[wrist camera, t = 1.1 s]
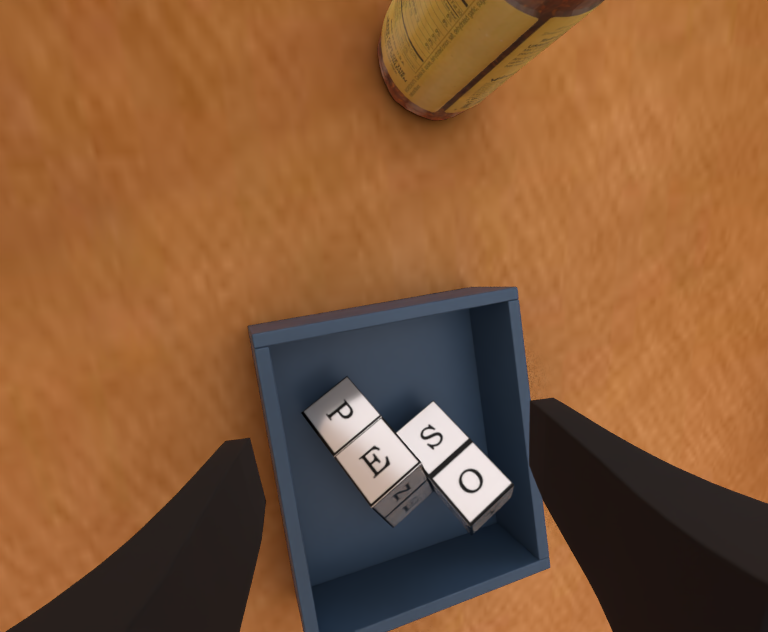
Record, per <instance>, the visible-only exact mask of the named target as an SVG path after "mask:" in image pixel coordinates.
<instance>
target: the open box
mask: <svg viewBox="0 0 768 632" xmlns="http://www.w3.org/2000/svg"><path fill="white" fill-rule="evenodd" d="M248 332H249V337H250V343H251V348H252V354H253V359H254V365H255V370H256V376H257V382H258V387H259V393H260V398H261V404H262V409H263V415H264V420H265V426H266V431H267V437H268V443H269V448H270V454H271V459H272V465H273V470H274V476H275V481H276V487H277V492H278V498H279V503H280V509H281V515H282V520H283V526H284V531H285V537H286V542H287V548H288V553H289V559H290V564H291V570H292V575H293V581H294V587H295V592H296V598H297V602H298V607H299V612H300V617H301V621H302V626H303V631H304V632H387V631H390V630H392V629H395V628H398V627H400V626H403V625H405V624H408V623H410V622H413V621H415V620H418V619H420V618H423V617H426V616H428V615H431V614H433V613H436V612H438V611H441V610H443V609H446V608H449V607H451V606H454V605H456V604H459V603H461V602H464V601H466V600H469V599H472V598H474V597H477V596H479V595H482V594H484V593H487V592H489V591H492V590H495V589H497V588H500V587H502V586H505V585H507V584H510V583H512V582H515V581H517V580H520V579H523V578H525V577H528V576H530V575H533V574H535V573H538V572H540V571H543V570H546V569H548V568H550V560H549V551H548V543H547V534H546V526H545V517H544V509H543V500H542V496H541V494H540V492H539V489H538V487H537V484H536V482H535V479H534V477H533V474H532V472H531V469H530V467H529V421H530V401H531V399H530V390H529V382H528V374H527V365H526V357H525V348H524V340H523V331H522V323H521V314H520V306H519V300H518V290H517V287H469V288H463V289H457V290H452V291H446V292H440V293H434V294H429V295H423V296H417V297H411V298H405V299H400V300H394V301H388V302H382V303H377V304H371V305H365V306H359V307H354V308H348V309H342V310H336V311H331V312H325V313H319V314H313V315H307V316H302V317H296V318H290V319H284V320H279V321H273V322H267V323H261V324H256V325H250V326H248ZM346 376H348V377H349V379H350V380H351V381H352V382H353V383H354V384H355V386H356V387H357V388H358V389H359V390H360V391H361V393H362V394H363V395H364V396H365V397H366V398H367V400H368V401H369V402H370V403H371V404H372V405H373V406H374V408H375V409H376V410H377V411H378V412H379V413H380V415H381V416H382V417H383V418H384V419H385V420H386V422H387V423H388V424H389V425H390V426H391V427H392V429H393V430H394V431H395V432H397V431H398V430H399V429H400V428H402V427H403V426H404V425H405V424H406V423H407V422H409V421H410V420H411V419H412V418H413V417H414V416H416V415H417V414H418V413H419V412H420V411H421V410H423V409H424V408H425V407H426V406H427V405H428V404H430V403H431V402H432V401H434V402H435V403H436V404H437V405H438V406H439V407H440V408H441V409H442V410H443V411H444V412H445V413H446V414H447V415H448V416H449V417H450V418H451V419H452V420H453V421H454V422H455V423H456V424H457V425H458V427H459V428H460V429H461V430H462V431H463V432H464V433H465V434H466V435H467V436H468V437H469V438H470V439H471V440H472V441H473V442H474V443H475V444H476V445H477V446H478V447H479V448H480V449H481V450H482V451H483V453H484V454H485V455H486V456H487V457H488V458H489V459H490V460H491V461H492V462H493V463H494V464H495V465H496V466H497V467H498V468H499V469H500V470H501V471H502V472H503V473H504V474H505V475H506V476H507V477H508V479H509V480H510V481H511V482H512V483H513V484H514V489H513V494H512V497H511V498H510V499H509V500H508V501H507V502H506V503H505V504H504V505H503V506H502V507H501V508H500V509H499V510H498V511H497V512H496V513H495V514H494V515H493V516H492V517H491V518H490V519H489V520H487V521H486V522H485V523H484V524H483V525H482V526H481V527H480V528H479V529H478V530H477V531H476V532H475V533H474V534H473V535H472V536H471V535H470V533H469V532H468V531H467V530H466V529H465V527H464V526H463V525H462V524H461V523H460V522H459V520H458V519H457V518H456V517H455V516H454V514H453V513H452V512H451V511H450V510H449V508H448V507H447V506H446V505H445V504H444V503H443V501H442V500H441V499H440V498H439V497H438V495H437V494H436V493H435V492H432V493H431V494H430V495H429V496H428V497H427V498H426V499H425V500H424V501H423V502H422V503H420V504H419V505H418V506H417V507H416V508H415V509H414V510H413V511H412V512H411V513H409V514H408V515H407V516H406V517H405V518H404V519H403V520H402V521H401V522H400V523H398V524H397V525H396V526H395V527H394V528H392V527H391V526H390V525H389V524H388V523H387V522H386V521H385V520H384V519H383V518H382V517H381V516H379V515H378V514H377V513H376V512H375V511H374V510H373V509H372V508H371V507H370V505H369V504H368V503H367V501H366V500H365V499H364V497H363V496H362V495H361V493H360V492H359V491H358V489H357V488H356V487H355V485H354V484H353V483H352V481H351V480H350V478H349V477H348V476H347V474H346V473H345V472H344V470H343V469H342V468H341V466H340V465H339V464H338V462H337V461H336V460H335V458H334V457H333V456H332V454H331V453H330V451H329V450H328V449H327V447H326V446H325V445H324V443H323V442H322V441H321V439H320V438H319V437H318V435H317V434H316V433H315V431H314V430H313V429H312V427H311V426H310V424H309V423H308V422H307V420H306V419H305V418H304V416H303V415H302V414H301V412H302V411H304V410H305V409H306V408H307V407H309V406H310V405H311V404H312V403H314V402H315V401H316V400H317V399H319V398H320V397H321V396H322V395H324V394H325V393H326V392H327V391H329V390H330V389H331V388H332V387H334V386H335V385H336V384H337V383H339V382H340V381H341V380H342V379H344V378H345V377H346Z"/></svg>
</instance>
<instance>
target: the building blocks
mask: <svg viewBox="0 0 768 632" xmlns="http://www.w3.org/2000/svg"><path fill="white" fill-rule="evenodd" d="M301 414H302V415H303V416H304V418H305V419H306V420H307V422H308V423H309V424H310V426H311V427H312V429H313V430H314V431H315V433H316V434H317V435H318V437H319V438H320V439H321V441H322V442H323V443H324V445H325V446H326V447H327V449H328V450H329V451H330V453H331V454H332V456H333V457H334V458H335V460H336V461H337V462H338V464H339V465H340V466H341V468H342V469H343V470H344V472H345V473H346V474H347V476H348V477H349V478H350V480H351V481H352V483H353V484H354V485H355V487H356V488H357V489H358V491H359V492H360V493H361V495H362V496H363V497H364V499H365V500H366V501H367V503H368V504H369V505H370V507H371V508H372V509H373V510H374V511H375V512H376V513H377V514H378V515H379V516H381V517H382V518H383V519H384V520H385V521H386V522H387V523H388V524H389V525H390V526H391V527H392V528H394V527H395V526H396V525H397V524H398V523H400V522H401V521H402V520H403V519H404V518H405V517H406V516H407V515H408V514H409V513H411V512H412V511H413V510H414V509H415V508H416V507H417V506H418V505H419V504H420V503H422V502H423V501H424V500H425V499H426V498H427V497H428V496H429V495H430V494H431V493H432V492H435V493H436V494H437V495H438V497H439V498H440V499H441V500H442V501H443V503H444V504H445V505H446V506H447V507H448V508H449V510H450V511H451V512H452V513H453V514H454V516H455V517H456V518H457V519H458V520H459V522H460V523H461V524H462V525H463V526H464V527H465V529H466V530H467V531H468V532H469V533H470V535H471V536H472V535H473V534H474V533H475V532H476V531H477V530H478V529H479V528H480V527H481V526H482V525H483V524H484V523H485V522H486V521H487V520H489V519H490V518H491V517H492V516H493V515H494V514H495V513H496V512H497V511H498V510H499V509H500V508H501V507H502V506H503V505H504V504H505V503H506V502H507V501H508V500H509V499H510V498H511V497H512V494H513V489H514V484H513V483H512V482H511V481H510V480H509V479H508V477H507V476H506V475H505V474H504V473H503V472H502V471H501V470H500V469H499V468H498V467H497V466H496V465H495V464H494V463H493V462H492V461H491V460H490V459H489V458H488V457H487V456H486V455H485V454H484V453H483V451H482V450H481V449H480V448H479V447H478V446H477V445H476V444H475V443H474V442H473V441H472V440H471V439H470V438H469V437H468V436H467V435H466V434H465V433H464V432H463V431H462V430H461V429H460V428H459V427H458V425H457V424H456V423H455V422H454V421H453V420H452V419H451V418H450V417H449V416H448V415H447V414H446V413H445V412H444V411H443V410H442V409H441V408H440V407H439V406H438V405H437V404H436V403H435V402H434V401H432V402H431V403H430V404H428V405H427V406H426V407H425V408H424V409H423V410H421V411H420V412H419V413H418V414H417V415H416V416H414V417H413V418H412V419H411V420H410V421H409V422H407V423H406V424H405V425H404V426H403V427H402V428H400V429H399V430H398V431H397V432H395V431H394V430H393V429H392V427H391V426H390V425H389V424H388V423H387V422H386V420H385V419H384V418H383V417H382V416H381V415H380V413H379V412H378V411H377V410H376V409H375V408H374V406H373V405H372V404H371V403H370V402H369V401H368V400H367V398H366V397H365V396H364V395H363V394H362V393H361V391H360V390H359V389H358V388H357V387H356V386H355V384H354V383H353V382H352V381H351V380H350V379H349V377H348V376H346V377H345V378H344V379H342V380H341V381H340V382H339V383H337V384H336V385H335V386H334V387H332V388H331V389H330V390H329V391H327V392H326V393H325V394H324V395H322V396H321V397H320V398H319V399H317V400H316V401H315V402H314V403H312V404H311V405H310V406H309V407H307V408H306V409H305V410H304V411H302V412H301Z"/></svg>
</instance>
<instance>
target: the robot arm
mask: <svg viewBox="0 0 768 632" xmlns="http://www.w3.org/2000/svg"><path fill="white" fill-rule="evenodd" d="M529 467H530V469H531V472H532V474H533V477H534V479H535V482H536V484H537V487H538V489H539V492H540V494H541V496H542V499H543V501H544V503H545V505H546V506H547V508H548V510H549V512H550V514H551V515H552V517H553V519H554V521H555V523H556V524H557V526H558V528H559V530H560V531H561V533H562V535H563V537H564V538H565V540H566V542H567V544H568V545H569V547H570V549H571V551H572V552H573V554H574V556H575V558H576V560H577V561H578V563H579V565H580V567H581V568H582V570H583V572H584V574H585V575H586V577H587V579H588V581H589V582H590V584H591V586H592V588H593V590H594V592H595V594H596V596H597V598H598V600H599V602H600V604H601V606H602V609H603V611H604V613H605V615H606V618H607V620H608V622H609V624H610V626H611V629H612V631H613V632H768V504H767V503H764V502H761V501H759V500H756V499H753V498H751V497H748V496H745V495H742V494H740V493H737V492H734V491H731V490H729V489H726V488H724V487H721V486H719V485H716V484H714V483H711V482H709V481H706V480H704V479H702V478H700V477H697V476H695V475H693V474H691V473H688V472H686V471H684V470H682V469H679V468H677V467H675V466H673V465H671V464H669V463H667V462H665V461H663V460H661V459H659V458H657V457H655V456H653V455H651V454H649V453H647V452H645V451H643V450H641V449H640V448H638V447H636V446H634V445H632V444H630V443H629V442H627V441H625V440H623V439H622V438H620V437H618V436H616V435H615V434H613V433H611V432H609V431H608V430H606V429H604V428H603V427H601V426H599V425H598V424H596V423H594V422H593V421H591V420H590V419H588V418H586V417H585V416H583V415H581V414H580V413H578V412H577V411H575V410H573V409H572V408H570V407H568V406H567V405H565V404H563V403H562V402H560V401H558V400H556V399H554V398H548V399H540V400H533V401H530V421H529ZM265 504H266V500H265V496H264V492H263V488H262V484H261V480H260V476H259V472H258V468H257V464H256V460H255V456H254V452H253V448H252V444H251V441H250V438H245V439H237V440H229V441H225V442H224V443H223V444H222V445H221V446H220V447H219V449H218V450H217V451H216V452H215V453H214V454H213V455H212V456H211V457H210V458H209V459H208V461H207V462H206V463H205V464H204V465H203V466H202V467H201V468H200V469H199V471H198V472H197V473H196V474H195V475H194V476H193V477H192V478H191V479H190V480H189V481H188V482H187V483H186V485H185V486H184V487H183V488H182V489H181V490H180V491H179V492H178V493H177V494H176V495H175V496H174V497H173V498H172V499H171V500H170V501H169V502H168V503H167V504H166V505H165V506H164V507H163V508H162V509H161V510H160V511H159V512H158V513H157V514H156V515H155V516H154V517H153V518H152V519H151V520H150V521H149V522H148V523H147V524H146V525H145V526H144V527H143V528H142V529H141V530H140V531H138V532H137V533H136V534H135V535H134V536H133V537H132V538H131V539H130V540H128V541H127V542H126V543H125V544H124V545H123V546H122V547H120V548H119V549H118V550H117V551H116V552H114V553H113V554H112V555H111V556H110V557H108V558H107V559H106V560H105V561H104V562H102V563H101V564H100V565H99V566H97V567H96V568H95V569H94V570H92V571H91V572H90V573H88V574H87V575H86V576H84V577H83V578H82V579H80V580H79V581H78V582H76V583H75V584H74V585H72V586H71V587H70V588H68V589H67V590H65V591H64V592H63V593H61V594H60V595H59V596H57V597H56V598H55V599H53V600H52V601H51V602H49V603H48V604H46V605H45V606H43V607H42V608H41V609H39V610H38V611H36V612H35V613H33V614H32V615H30V616H29V617H27V618H26V619H24V620H23V621H21V622H20V623H18V624H17V625H15V626H14V627H12V628H10V629H9V630H7V631H6V632H240V628H241V624H242V620H243V615H244V611H245V607H246V603H247V599H248V595H249V591H250V587H251V583H252V578H253V574H254V570H255V566H256V562H257V557H258V553H259V549H260V544H261V540H262V532H263V524H264V514H265Z"/></svg>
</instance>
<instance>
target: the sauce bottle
mask: <svg viewBox="0 0 768 632" xmlns="http://www.w3.org/2000/svg"><path fill="white" fill-rule="evenodd" d="M603 1H604V0H392V2H391V4H390V6H389V8H388V10H387V12H386V15H385V18H384V22H383V27H382V33H381V36H380V39H379V42H378V48H377V50H378V57H379V66H380V68H381V73H382V76H383V78H384V81H385V85H386V86H387V87H388V90H389V93H390V94H391V96H392V97H393V99H394V100H395V101H396V102H398V103H399V104H400V105H402V106H403V107H404V108H405V109H407V110H409V111H411V112H413V113H415V114H416V115H419V116H422V117H425V118H427V119H431V120H444V119H448V118H451V117H454V116H455V115H457V114H459V113H461V112H463V111H465V110H467V109H470V108H472V107H474V106H476V105H477V104H479V103H480V102H481V101H483V100H484V99H485V98H486V97H487V96H488V95H490V94H491V93H492V92H493V91H494V90H496V89H497V88H498V87H499V86H501V85H502V84H503V83H504V82H506V81H507V80H508V79H509V78H510V77H512V76H513V75H514V74H515V73H516V72H518V71H519V70H520V69H521V68H523V67H524V66H525V65H526V64H527V63H529V62H530V61H531V60H532V59H533V58H535V57H536V56H537V55H538V54H540V53H541V52H542V51H543V50H545V49H546V48H547V47H548V46H550V45H551V44H552V43H553V42H555V41H556V40H557V39H558V38H559V37H561V36H562V35H563V34H564V33H566V32H567V31H568V30H569V29H571V28H572V27H573V26H574V25H576V24H577V23H578V22H579V21H581V20H582V19H583V18H584V17H585V16H587V15H588V14H589V13H590V12H592V11H593V10H594V9H595V8H596V7H598V6H599V5H600V4H601V3H602V2H603Z"/></svg>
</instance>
